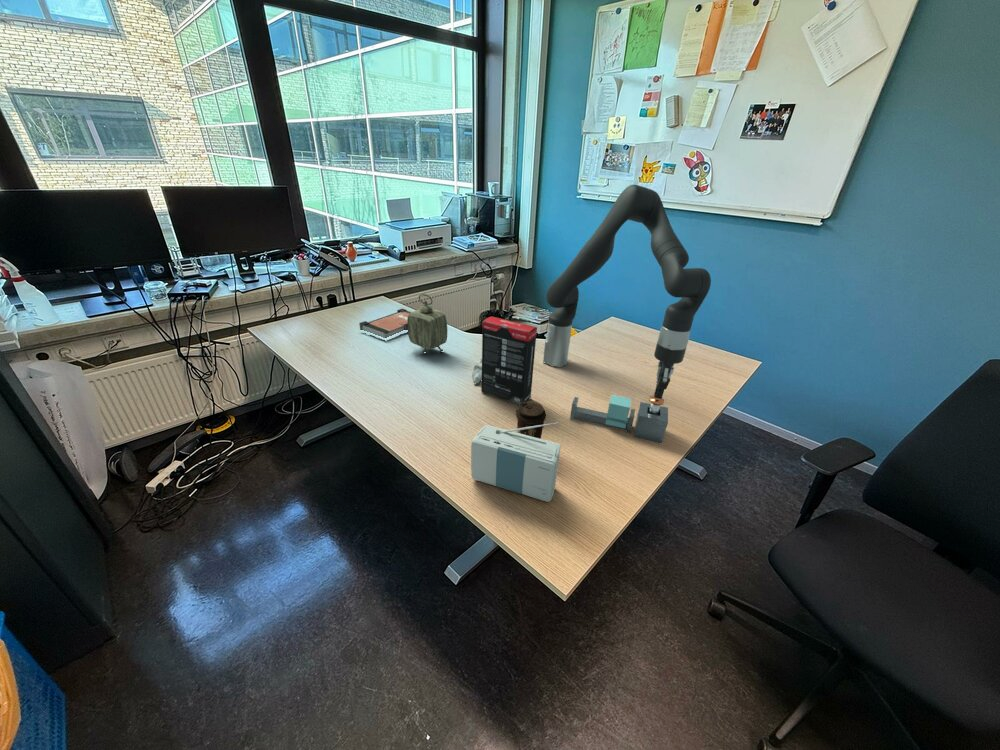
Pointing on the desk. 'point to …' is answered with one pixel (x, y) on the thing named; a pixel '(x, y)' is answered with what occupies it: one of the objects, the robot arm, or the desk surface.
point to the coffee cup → (530, 418)
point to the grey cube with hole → (651, 424)
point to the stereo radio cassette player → (515, 461)
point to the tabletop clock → (427, 326)
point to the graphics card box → (507, 359)
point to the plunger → (655, 405)
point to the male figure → (477, 372)
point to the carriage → (618, 411)
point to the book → (387, 324)
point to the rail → (597, 416)
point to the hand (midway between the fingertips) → (657, 397)
